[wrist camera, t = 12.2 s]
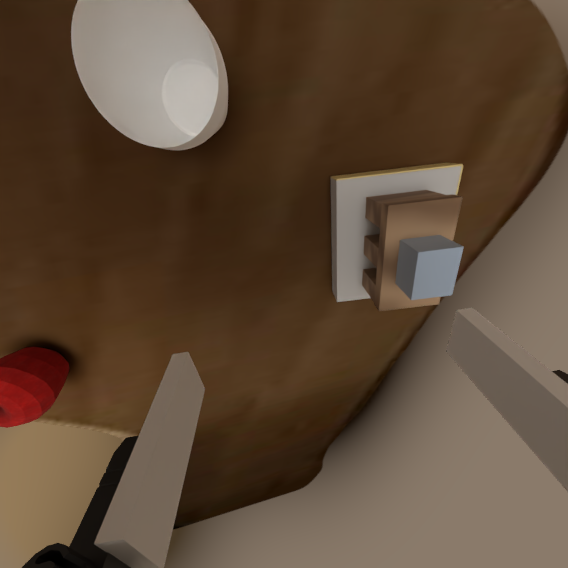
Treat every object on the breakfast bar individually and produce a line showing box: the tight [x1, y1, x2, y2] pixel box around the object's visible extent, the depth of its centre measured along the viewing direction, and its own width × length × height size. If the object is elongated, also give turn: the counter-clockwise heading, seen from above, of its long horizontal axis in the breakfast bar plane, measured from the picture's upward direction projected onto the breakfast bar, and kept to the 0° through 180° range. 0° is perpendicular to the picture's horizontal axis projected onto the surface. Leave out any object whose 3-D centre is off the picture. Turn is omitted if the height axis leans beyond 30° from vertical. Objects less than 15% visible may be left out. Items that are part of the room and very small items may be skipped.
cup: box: [71, 0, 228, 150], centre depth 21 cm, size 9×9×12 cm
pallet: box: [362, 190, 463, 311], centre depth 29 cm, size 12×7×6 cm, turn 6°
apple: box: [0, 347, 70, 427], centre depth 36 cm, size 10×10×11 cm
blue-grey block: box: [395, 235, 463, 300], centre depth 25 cm, size 5×4×4 cm
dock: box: [331, 163, 463, 302], centre depth 33 cm, size 16×14×3 cm
